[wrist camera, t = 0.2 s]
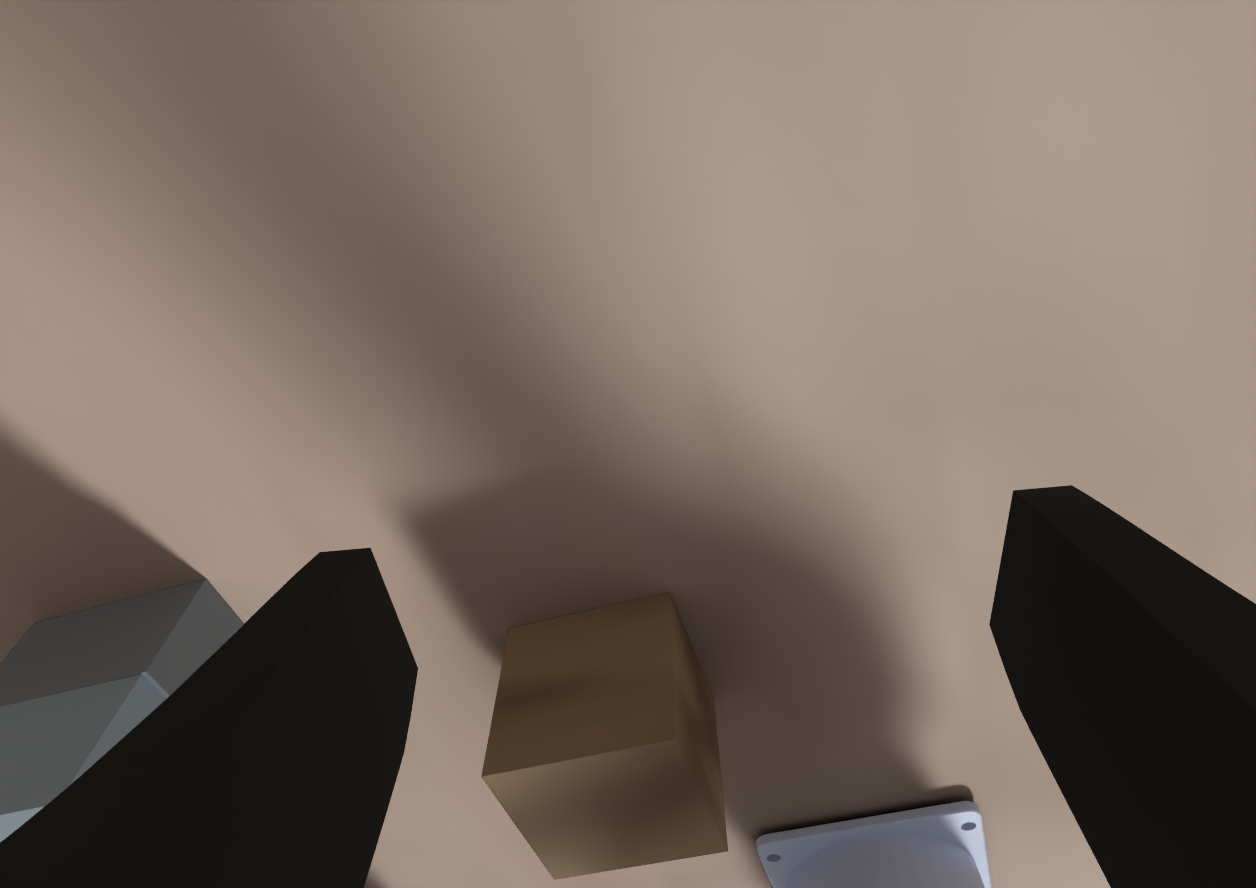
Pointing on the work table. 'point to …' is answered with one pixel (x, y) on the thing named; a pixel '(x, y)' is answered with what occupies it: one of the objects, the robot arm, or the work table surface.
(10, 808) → the tower middle
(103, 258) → the work table surface
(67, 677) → the tower base
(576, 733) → the walnut cube
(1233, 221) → the work table surface
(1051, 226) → the work table surface
